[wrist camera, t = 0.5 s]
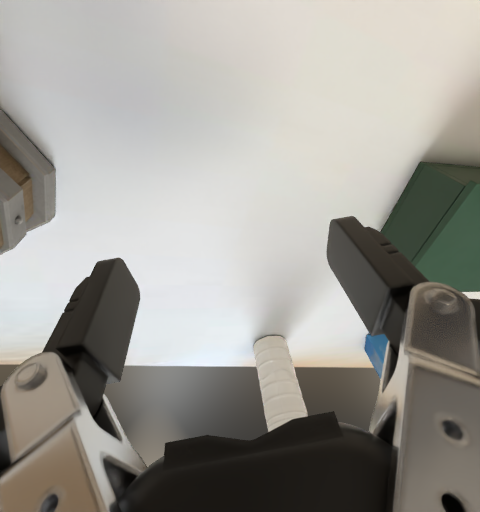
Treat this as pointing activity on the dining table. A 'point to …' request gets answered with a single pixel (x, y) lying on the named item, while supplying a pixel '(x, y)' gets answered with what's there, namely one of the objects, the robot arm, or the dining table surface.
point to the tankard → (22, 186)
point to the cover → (455, 245)
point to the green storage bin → (426, 204)
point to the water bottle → (278, 382)
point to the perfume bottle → (376, 351)
